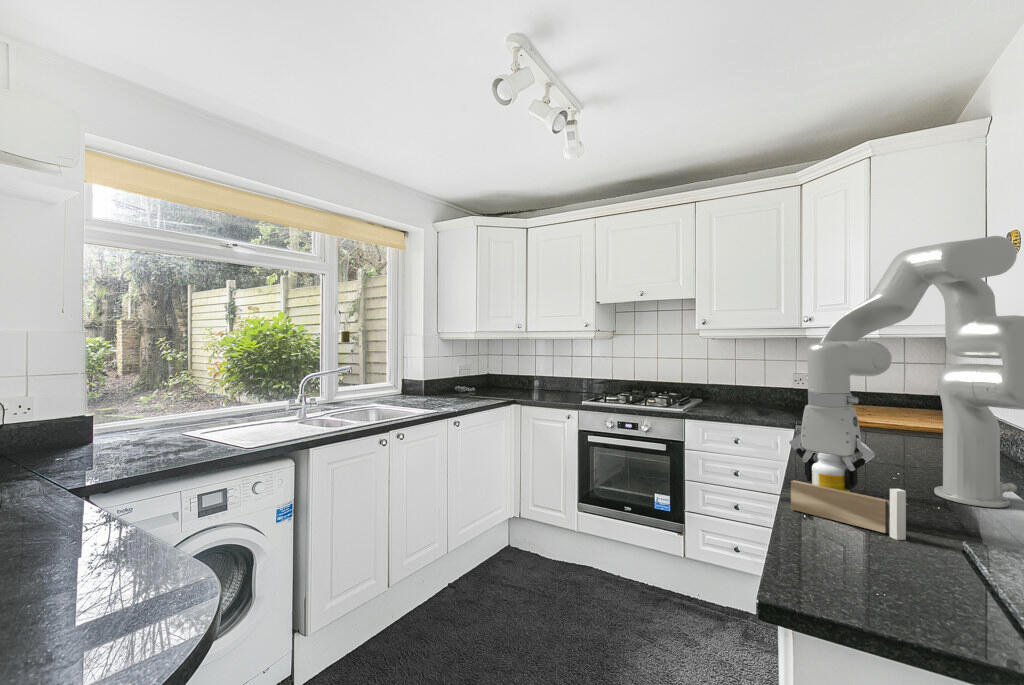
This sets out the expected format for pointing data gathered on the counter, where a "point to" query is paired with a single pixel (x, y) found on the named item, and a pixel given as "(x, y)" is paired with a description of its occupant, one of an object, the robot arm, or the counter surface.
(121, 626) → the counter surface
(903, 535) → the gate post
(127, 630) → the counter surface
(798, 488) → the wooden plank
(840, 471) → the supplement bottle
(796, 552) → the counter surface
